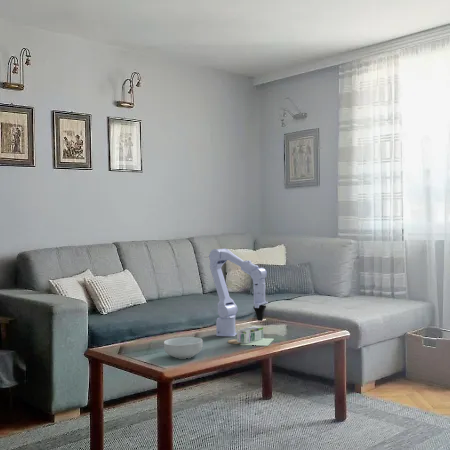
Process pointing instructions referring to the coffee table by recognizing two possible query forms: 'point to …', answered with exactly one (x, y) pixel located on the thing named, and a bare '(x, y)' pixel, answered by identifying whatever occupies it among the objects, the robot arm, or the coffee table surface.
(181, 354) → the cereal bowl
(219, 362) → the coffee table surface
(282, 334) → the coffee table surface
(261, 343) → the mat
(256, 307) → the robot arm
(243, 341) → the syrup box
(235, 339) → the cork coaster
